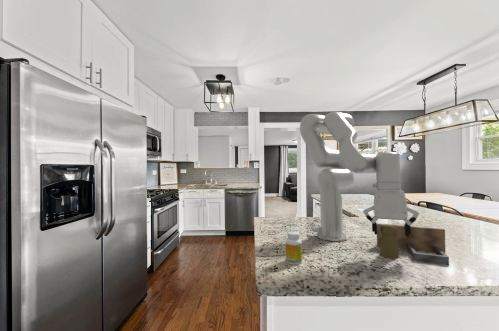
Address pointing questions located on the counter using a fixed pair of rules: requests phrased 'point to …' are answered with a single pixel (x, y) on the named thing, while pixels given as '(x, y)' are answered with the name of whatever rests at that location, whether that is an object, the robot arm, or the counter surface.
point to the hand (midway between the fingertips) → (390, 234)
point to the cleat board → (420, 243)
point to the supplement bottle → (293, 248)
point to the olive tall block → (388, 242)
